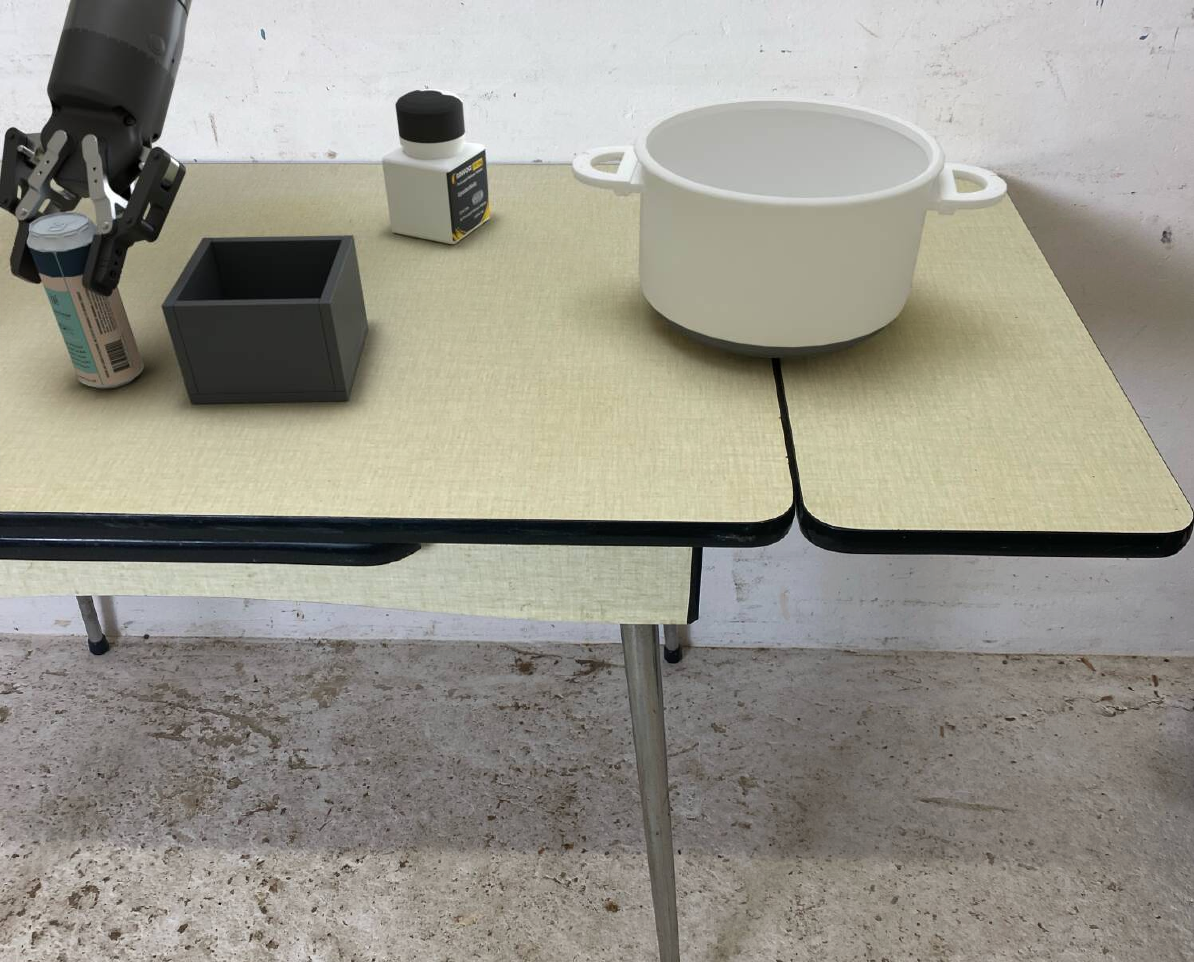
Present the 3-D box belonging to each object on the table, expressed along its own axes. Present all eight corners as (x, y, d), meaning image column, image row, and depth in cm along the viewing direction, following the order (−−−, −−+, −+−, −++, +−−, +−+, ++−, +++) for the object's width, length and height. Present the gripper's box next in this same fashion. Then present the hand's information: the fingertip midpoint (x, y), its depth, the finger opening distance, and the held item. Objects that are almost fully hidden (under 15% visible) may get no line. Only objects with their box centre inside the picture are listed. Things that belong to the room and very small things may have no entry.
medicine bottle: (454, 246, 98) (441, 111, 90) (390, 233, 100) (372, 100, 92) (491, 218, 103) (482, 88, 95) (429, 207, 105) (415, 79, 97)
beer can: (152, 360, 82) (104, 208, 74) (136, 391, 79) (83, 235, 71) (90, 362, 82) (35, 210, 74) (71, 393, 78) (11, 237, 70)
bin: (190, 404, 77) (160, 305, 72) (226, 330, 86) (202, 237, 81) (348, 401, 77) (329, 302, 72) (368, 327, 86) (353, 234, 81)
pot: (958, 264, 95) (996, 104, 85) (986, 397, 77) (1037, 215, 68) (597, 241, 99) (596, 86, 90) (548, 362, 82) (541, 186, 73)
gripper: (237, 95, 76) (178, 320, 75) (76, 76, 79) (19, 290, 79) (170, 32, 68) (105, 281, 68) (-3, 14, 72) (-66, 250, 72)
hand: (60, 284), depth 74 cm, fingers open, 5 cm apart
